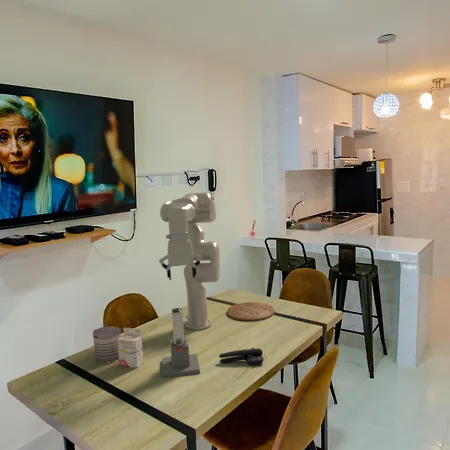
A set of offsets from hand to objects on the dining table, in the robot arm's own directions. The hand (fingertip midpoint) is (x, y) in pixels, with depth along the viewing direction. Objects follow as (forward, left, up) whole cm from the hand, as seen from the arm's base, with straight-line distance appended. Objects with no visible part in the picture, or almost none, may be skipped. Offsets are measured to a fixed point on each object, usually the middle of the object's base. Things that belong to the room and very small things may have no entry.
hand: (182, 277), depth 170 cm
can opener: (+21, +11, -34) cm, 42 cm away
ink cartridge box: (-11, -20, -34) cm, 41 cm away
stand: (+6, -8, -34) cm, 35 cm away
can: (-24, -23, -34) cm, 47 cm away
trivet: (-14, +55, -34) cm, 66 cm away
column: (+6, -8, -27) cm, 28 cm away
